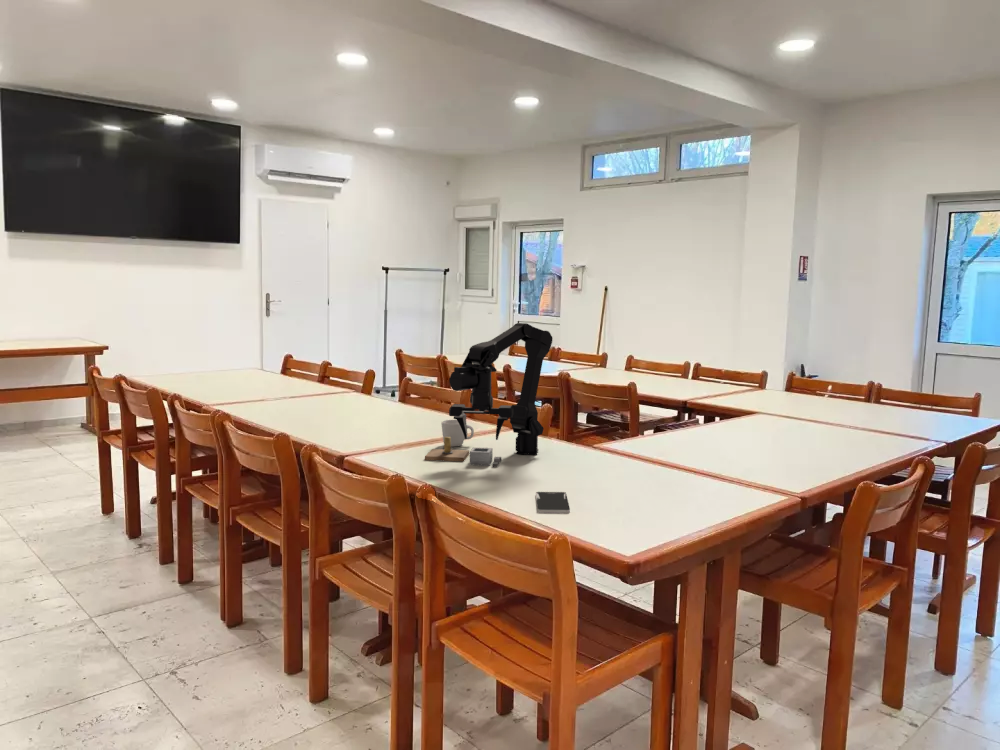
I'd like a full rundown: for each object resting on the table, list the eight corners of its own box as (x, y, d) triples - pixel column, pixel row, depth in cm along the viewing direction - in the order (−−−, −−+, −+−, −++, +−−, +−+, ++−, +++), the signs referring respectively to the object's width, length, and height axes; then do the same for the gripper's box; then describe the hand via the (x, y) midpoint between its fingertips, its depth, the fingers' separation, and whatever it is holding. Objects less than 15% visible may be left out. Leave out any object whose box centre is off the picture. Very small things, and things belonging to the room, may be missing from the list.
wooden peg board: (469, 454, 231) (469, 434, 230) (463, 461, 221) (463, 441, 221) (432, 452, 233) (432, 433, 232) (424, 460, 223) (424, 440, 222)
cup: (475, 443, 247) (475, 420, 246) (472, 448, 239) (472, 424, 238) (443, 442, 248) (443, 419, 247) (439, 447, 240) (439, 423, 239)
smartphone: (537, 509, 172) (535, 491, 187) (537, 515, 172) (535, 496, 187) (570, 510, 172) (565, 491, 187) (570, 515, 172) (565, 496, 187)
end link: (492, 461, 222) (492, 448, 222) (489, 465, 216) (489, 452, 216) (472, 460, 223) (473, 447, 223) (469, 465, 217) (469, 451, 217)
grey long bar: (501, 460, 223) (501, 454, 223) (497, 467, 215) (497, 461, 214) (496, 459, 224) (496, 454, 223) (492, 467, 215) (492, 461, 215)
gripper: (515, 384, 224) (515, 434, 226) (455, 383, 226) (455, 433, 228) (511, 389, 213) (511, 442, 215) (448, 388, 215) (448, 440, 217)
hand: (481, 439), depth 219 cm, fingers open, 9 cm apart
